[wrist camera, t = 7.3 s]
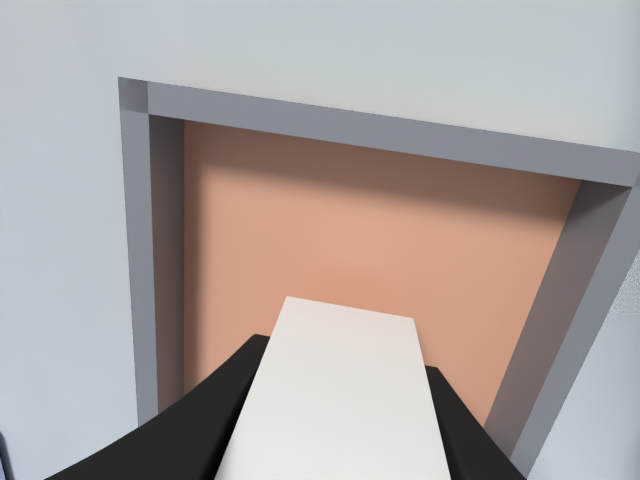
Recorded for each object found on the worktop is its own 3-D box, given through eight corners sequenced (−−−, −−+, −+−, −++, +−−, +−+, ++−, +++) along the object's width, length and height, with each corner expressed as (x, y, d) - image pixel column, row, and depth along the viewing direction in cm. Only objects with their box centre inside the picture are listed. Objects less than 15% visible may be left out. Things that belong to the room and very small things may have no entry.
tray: (406, 630, 21) (413, 710, 18) (178, 578, 22) (151, 647, 19) (601, 148, 11) (682, 159, 8) (175, 85, 12) (117, 76, 9)
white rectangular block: (386, 412, 12) (406, 665, 7) (276, 391, 13) (207, 619, 7) (413, 318, 11) (466, 544, 5) (286, 296, 11) (210, 489, 6)
